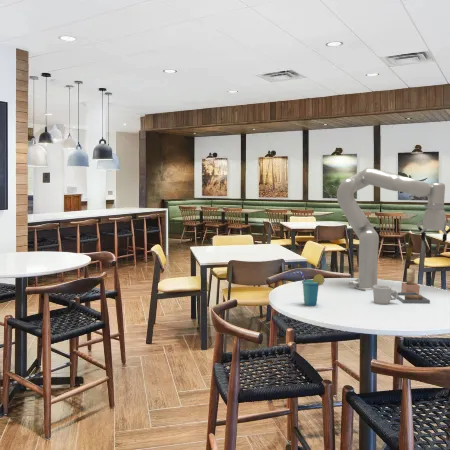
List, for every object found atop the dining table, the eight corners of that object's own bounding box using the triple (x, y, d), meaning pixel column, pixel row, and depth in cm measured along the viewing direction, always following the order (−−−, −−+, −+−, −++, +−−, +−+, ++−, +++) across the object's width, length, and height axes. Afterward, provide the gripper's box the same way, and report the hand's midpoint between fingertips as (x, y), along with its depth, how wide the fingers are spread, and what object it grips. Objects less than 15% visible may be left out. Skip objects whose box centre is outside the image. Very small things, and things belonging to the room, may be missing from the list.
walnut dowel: (406, 302, 212) (407, 296, 212) (404, 300, 215) (404, 294, 215) (422, 302, 212) (422, 296, 212) (419, 300, 215) (420, 294, 214)
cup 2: (397, 303, 213) (397, 285, 212) (397, 307, 205) (398, 289, 205) (372, 301, 216) (373, 284, 216) (372, 305, 209) (372, 287, 208)
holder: (406, 296, 227) (406, 284, 227) (401, 293, 234) (401, 282, 233) (419, 296, 227) (419, 285, 227) (414, 293, 233) (414, 282, 233)
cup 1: (292, 305, 207) (292, 272, 206) (293, 301, 214) (293, 269, 213) (324, 307, 204) (324, 273, 203) (324, 303, 211) (324, 270, 210)
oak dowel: (407, 293, 229) (408, 269, 228) (405, 292, 232) (405, 268, 231) (415, 293, 228) (416, 269, 228) (412, 292, 232) (413, 268, 231)
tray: (403, 304, 210) (403, 299, 210) (390, 296, 226) (391, 292, 226) (429, 304, 210) (429, 300, 210) (415, 296, 226) (415, 292, 226)
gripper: (415, 206, 236) (413, 240, 237) (452, 208, 226) (450, 243, 227) (419, 206, 242) (417, 239, 243) (455, 208, 232) (453, 242, 233)
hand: (433, 241), depth 235 cm, fingers open, 9 cm apart
